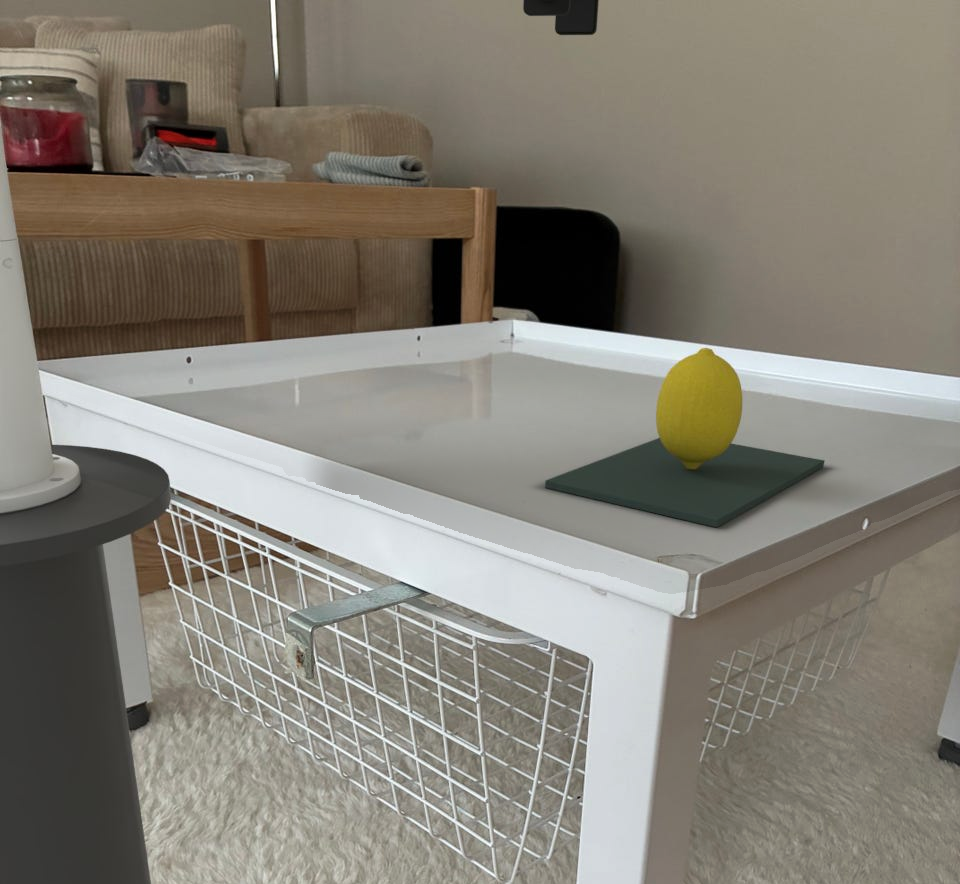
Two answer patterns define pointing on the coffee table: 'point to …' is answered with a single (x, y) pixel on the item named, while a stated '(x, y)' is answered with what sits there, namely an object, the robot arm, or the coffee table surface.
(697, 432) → the lemon
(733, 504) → the edge mat
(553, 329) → the coffee table surface
